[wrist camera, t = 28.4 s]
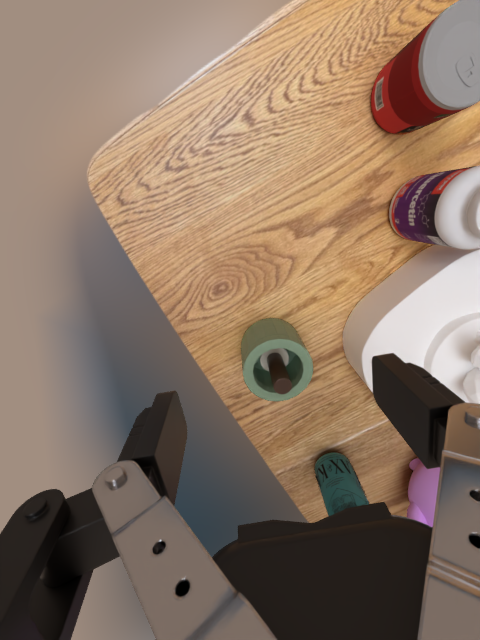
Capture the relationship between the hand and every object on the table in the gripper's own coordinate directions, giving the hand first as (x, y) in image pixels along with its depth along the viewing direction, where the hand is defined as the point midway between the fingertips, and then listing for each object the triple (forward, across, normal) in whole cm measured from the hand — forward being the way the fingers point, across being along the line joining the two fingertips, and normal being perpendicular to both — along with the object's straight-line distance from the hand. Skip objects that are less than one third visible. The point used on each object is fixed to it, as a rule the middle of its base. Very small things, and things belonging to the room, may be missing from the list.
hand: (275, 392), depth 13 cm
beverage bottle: (+32, -9, +37) cm, 50 cm away
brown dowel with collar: (+32, -2, +13) cm, 34 cm away
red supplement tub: (+32, -22, -16) cm, 42 cm away
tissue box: (+32, -27, +16) cm, 45 cm away
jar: (+32, -2, +13) cm, 35 cm away
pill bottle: (+32, -24, -3) cm, 40 cm away
